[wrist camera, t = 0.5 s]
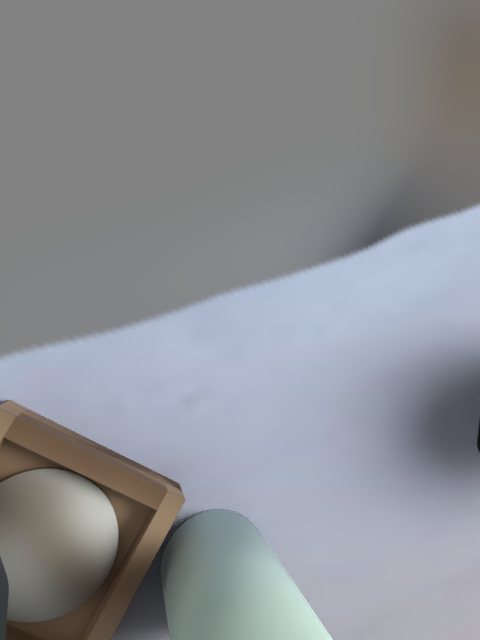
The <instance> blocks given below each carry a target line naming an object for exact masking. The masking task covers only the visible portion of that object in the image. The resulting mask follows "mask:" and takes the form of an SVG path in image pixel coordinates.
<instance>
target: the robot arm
mask: <svg viewBox="0 0 480 640" xmlns="http://www.w3.org/2000/svg"><path fill="white" fill-rule="evenodd" d="M477 447H478V450H479V452H480V416H479V425H478V435H477ZM8 598H9V584H8V577H7V574H6V571H5V568H4V565H3V562H2V559H1V556H0V640H5V635H6V623H7V610H8Z"/></svg>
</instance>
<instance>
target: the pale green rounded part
mask: <svg viewBox="0 0 480 640" xmlns="http://www.w3.org/2000/svg"><path fill="white" fill-rule="evenodd" d="M161 580H162V587H163V594H164V601H165V609H166V616H167V623H168V630H169V637H170V640H333V639H332V638H331V637H330V635H329V634H328V632H327V631H326V629H325V628H324V626H323V625H322V623H321V622H320V620H319V619H318V617H317V616H316V614H315V613H314V611H313V610H312V609H311V607H310V606H309V604H308V603H307V601H306V600H305V598H304V597H303V595H302V594H301V592H300V591H299V589H298V588H297V586H296V585H295V583H294V582H293V580H292V579H291V578H290V576H289V575H288V573H287V572H286V570H285V569H284V567H283V566H282V564H281V563H280V561H279V560H278V558H277V557H276V555H275V554H274V552H273V551H272V550H271V548H270V547H269V545H268V544H267V542H266V541H265V539H264V538H263V536H262V535H261V533H260V532H259V530H258V529H257V528H256V526H255V525H254V524H253V523H252V522H251V521H250V520H249V519H248V518H246V517H245V516H243V515H241V514H240V513H237V512H235V511H231V510H225V509H214V510H208V511H204V512H201V513H199V514H197V515H194V516H193V517H191V518H189V519H188V520H187V521H185V522H184V523H183V524H182V525H181V526H180V527H179V528H178V529H177V530H176V531H175V532H174V534H173V535H172V536H171V538H170V540H169V541H168V543H167V545H166V547H165V550H164V553H163V556H162V562H161Z"/></svg>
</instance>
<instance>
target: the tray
mask: <svg viewBox="0 0 480 640" xmlns="http://www.w3.org/2000/svg"><path fill="white" fill-rule="evenodd" d="M184 501H185V498H184V496H183V493H182V490H181V487H180V484H179V483H177V482H175V481H173V480H171V479H169V478H166V477H164V476H162V475H160V474H158V473H156V472H154V471H152V470H150V469H148V468H146V467H144V466H142V465H140V464H138V463H136V462H134V461H132V460H130V459H128V458H126V457H124V456H122V455H120V454H118V453H116V452H114V451H112V450H110V449H108V448H106V447H104V446H102V445H100V444H98V443H96V442H94V441H92V440H90V439H87V438H85V437H83V436H81V435H79V434H77V433H75V432H73V431H71V430H69V429H67V428H65V427H63V426H61V425H59V424H57V423H55V422H53V421H51V420H49V419H47V418H45V417H43V416H41V415H39V414H37V413H35V412H33V411H31V410H29V409H27V408H25V407H23V406H21V405H19V404H17V403H15V402H13V401H11V400H8V401H6V402H4V403H2V404H0V556H1V559H2V562H3V565H4V568H5V571H6V574H7V577H8V584H9V598H8V610H7V623H6V635H5V640H111V638H112V636H113V634H114V632H115V630H116V629H117V627H118V625H119V623H120V621H121V619H122V617H123V616H124V614H125V612H126V610H127V608H128V606H129V604H130V602H131V601H132V599H133V597H134V595H135V593H136V591H137V589H138V587H139V586H140V584H141V582H142V580H143V578H144V576H145V574H146V572H147V571H148V569H149V567H150V565H151V563H152V561H153V559H154V557H155V556H156V554H157V552H158V550H159V548H160V546H161V544H162V543H163V541H164V539H165V537H166V535H167V533H168V531H169V529H170V528H171V526H172V524H173V522H174V520H175V518H176V516H177V514H178V513H179V511H180V509H181V507H182V505H183V503H184Z"/></svg>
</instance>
